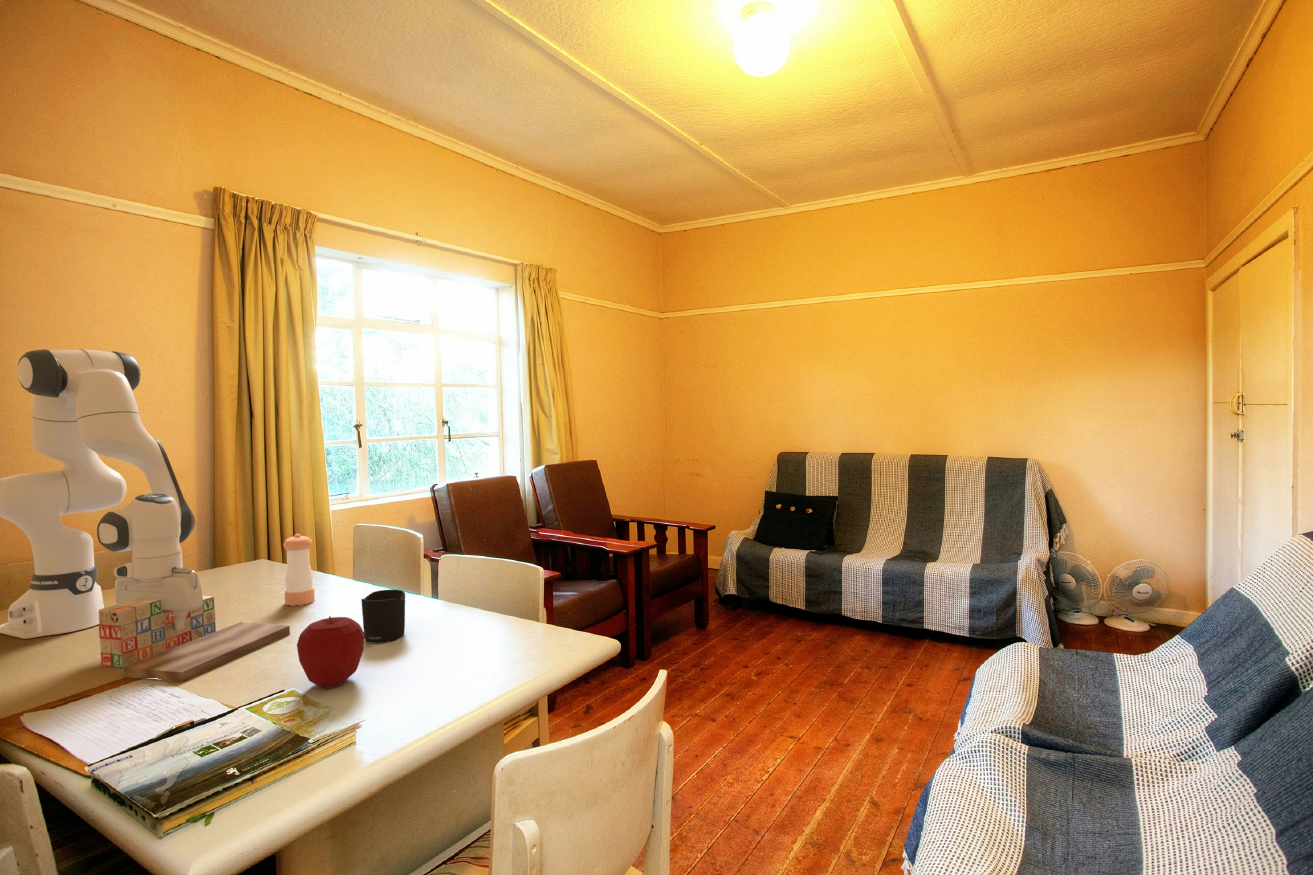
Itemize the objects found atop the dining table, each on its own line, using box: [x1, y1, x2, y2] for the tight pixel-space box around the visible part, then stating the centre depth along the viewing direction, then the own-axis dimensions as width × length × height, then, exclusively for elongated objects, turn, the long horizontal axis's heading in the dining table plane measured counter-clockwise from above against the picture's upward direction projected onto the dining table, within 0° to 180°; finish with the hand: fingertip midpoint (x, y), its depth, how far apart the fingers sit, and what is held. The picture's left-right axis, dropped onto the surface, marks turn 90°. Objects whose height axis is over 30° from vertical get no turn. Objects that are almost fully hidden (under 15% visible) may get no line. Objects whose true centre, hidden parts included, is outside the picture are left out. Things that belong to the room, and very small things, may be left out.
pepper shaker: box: [282, 533, 315, 607], centre depth 181 cm, size 7×7×19 cm
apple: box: [296, 615, 365, 689], centre depth 126 cm, size 12×12×13 cm
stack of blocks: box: [98, 595, 217, 669], centre depth 146 cm, size 21×6×12 cm, turn 165°
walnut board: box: [123, 621, 291, 683], centre depth 143 cm, size 14×28×2 cm, turn 168°
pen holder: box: [361, 589, 406, 644], centre depth 152 cm, size 9×9×10 cm
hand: (160, 628), depth 145 cm, fingers open, 8 cm apart
